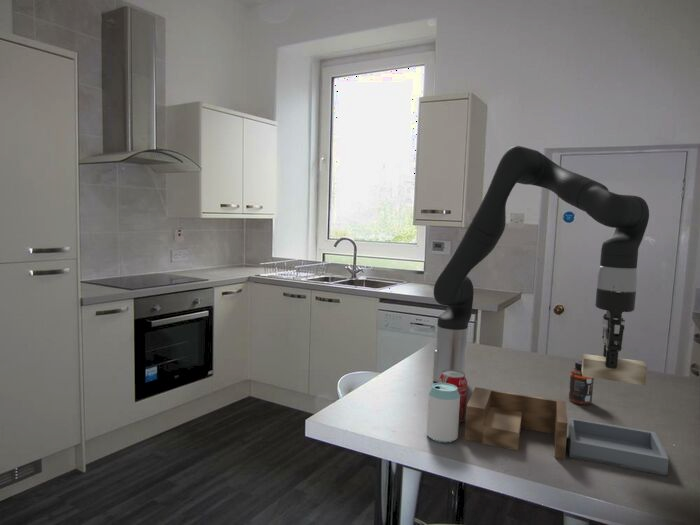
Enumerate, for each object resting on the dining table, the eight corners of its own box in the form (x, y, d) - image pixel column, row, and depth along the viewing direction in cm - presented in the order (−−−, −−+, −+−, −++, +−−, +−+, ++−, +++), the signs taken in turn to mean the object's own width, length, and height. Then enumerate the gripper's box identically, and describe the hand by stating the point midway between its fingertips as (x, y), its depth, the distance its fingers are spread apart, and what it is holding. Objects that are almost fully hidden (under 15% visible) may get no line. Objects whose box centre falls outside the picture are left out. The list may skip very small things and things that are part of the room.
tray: (569, 456, 106) (570, 441, 105) (567, 431, 119) (568, 417, 118) (667, 475, 99) (668, 459, 99) (653, 446, 112) (654, 432, 112)
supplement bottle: (594, 406, 136) (597, 366, 135) (571, 404, 137) (574, 364, 136) (588, 399, 142) (591, 360, 141) (566, 396, 143) (569, 358, 142)
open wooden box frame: (464, 439, 112) (466, 405, 111) (473, 417, 125) (475, 387, 124) (564, 459, 104) (567, 423, 104) (563, 433, 117) (565, 401, 116)
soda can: (433, 414, 126) (435, 368, 125) (460, 414, 127) (462, 368, 126) (440, 425, 119) (443, 377, 118) (469, 425, 120) (472, 377, 119)
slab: (582, 376, 108) (584, 358, 108) (581, 370, 112) (582, 353, 112) (645, 385, 104) (647, 366, 103) (641, 379, 108) (643, 361, 107)
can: (442, 447, 108) (445, 394, 107) (420, 435, 114) (422, 384, 113) (464, 439, 112) (467, 388, 111) (441, 428, 118) (443, 379, 117)
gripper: (594, 282, 114) (588, 354, 116) (600, 290, 101) (593, 371, 103) (630, 285, 112) (624, 359, 113) (641, 293, 98) (634, 376, 100)
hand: (609, 364), depth 108 cm, fingers closed on slab, 4 cm apart
